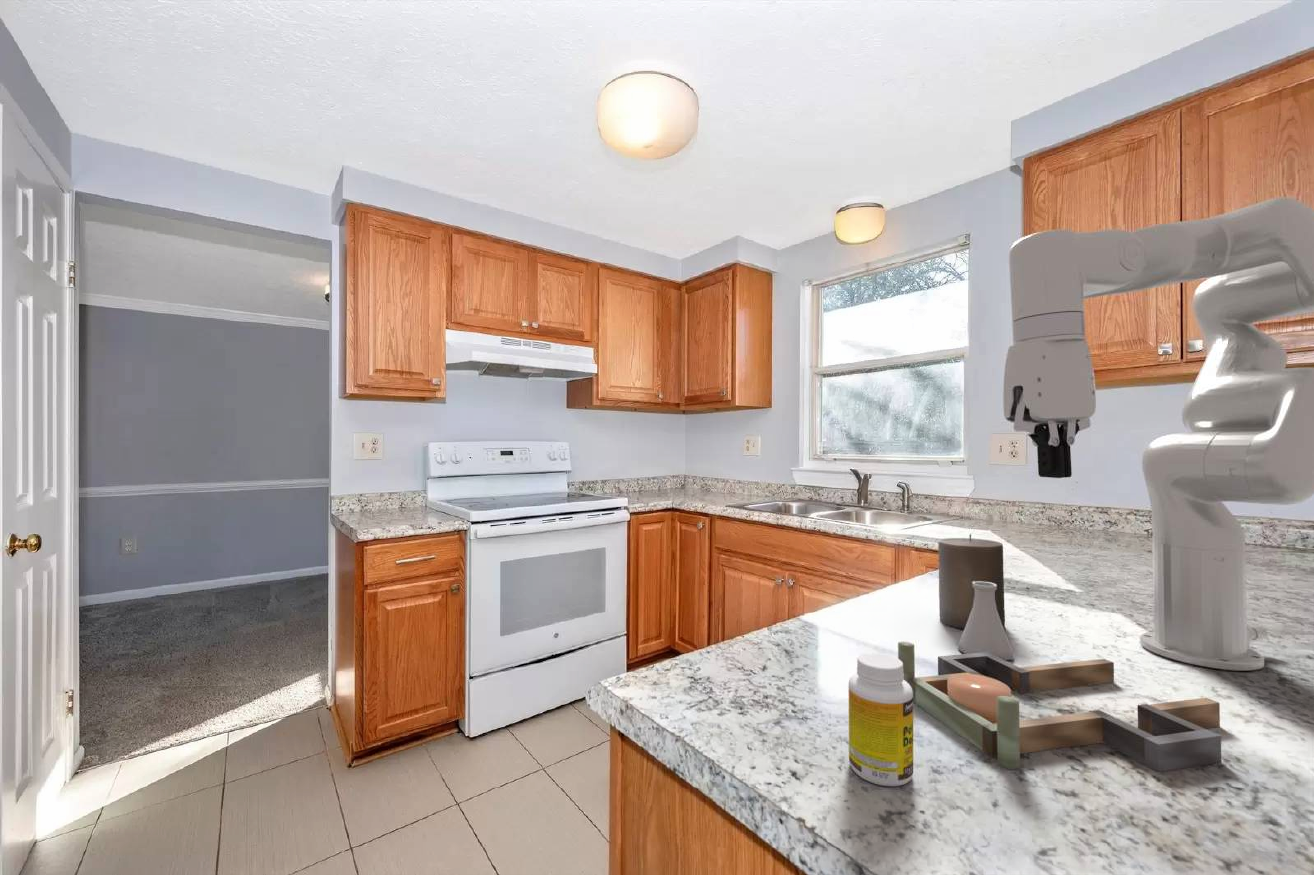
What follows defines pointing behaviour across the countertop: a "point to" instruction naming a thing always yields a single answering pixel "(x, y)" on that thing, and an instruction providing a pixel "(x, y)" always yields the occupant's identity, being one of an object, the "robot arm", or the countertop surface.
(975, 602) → the flask
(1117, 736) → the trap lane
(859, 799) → the countertop surface
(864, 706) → the supplement bottle
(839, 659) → the countertop surface
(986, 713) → the short salmon cylinder
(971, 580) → the pillar candle
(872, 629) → the countertop surface
